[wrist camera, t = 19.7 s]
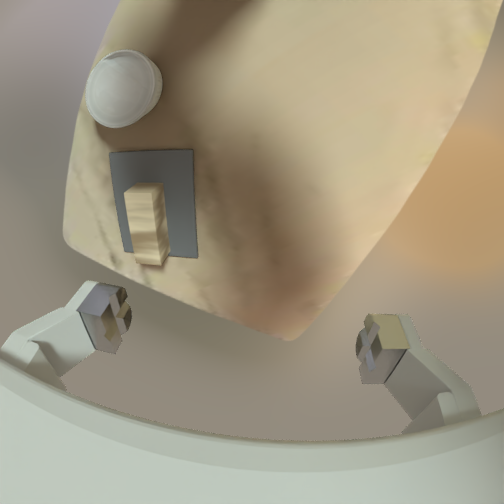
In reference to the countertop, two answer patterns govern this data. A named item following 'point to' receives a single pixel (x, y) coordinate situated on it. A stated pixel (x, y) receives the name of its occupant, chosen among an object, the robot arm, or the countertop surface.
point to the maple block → (148, 222)
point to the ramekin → (123, 88)
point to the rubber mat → (175, 193)
